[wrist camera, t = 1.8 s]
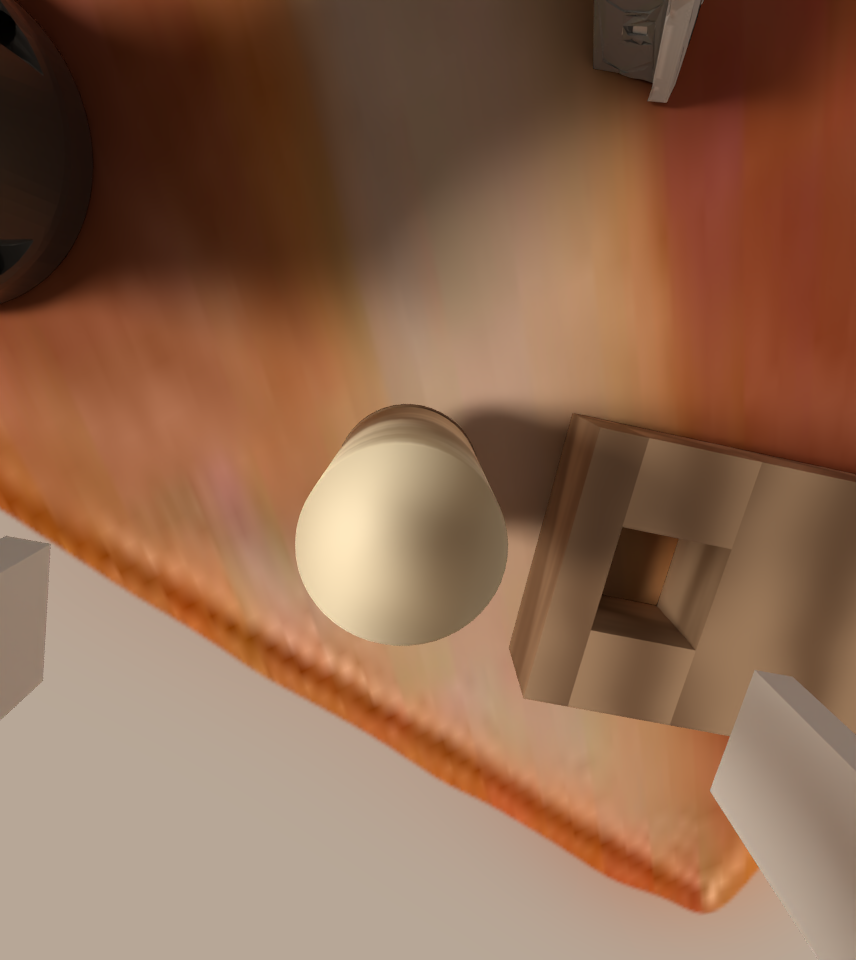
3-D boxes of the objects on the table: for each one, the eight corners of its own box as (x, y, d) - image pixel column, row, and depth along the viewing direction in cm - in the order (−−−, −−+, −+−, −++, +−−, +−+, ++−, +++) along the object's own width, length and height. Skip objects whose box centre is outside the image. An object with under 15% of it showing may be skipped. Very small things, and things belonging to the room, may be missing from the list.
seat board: (509, 647, 35) (523, 698, 30) (572, 413, 32) (600, 427, 27) (798, 702, 36) (857, 759, 31) (888, 481, 33) (969, 506, 28)
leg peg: (338, 500, 33) (278, 626, 19) (360, 382, 31) (313, 422, 17) (454, 523, 33) (482, 664, 19) (482, 408, 32) (533, 468, 18)
